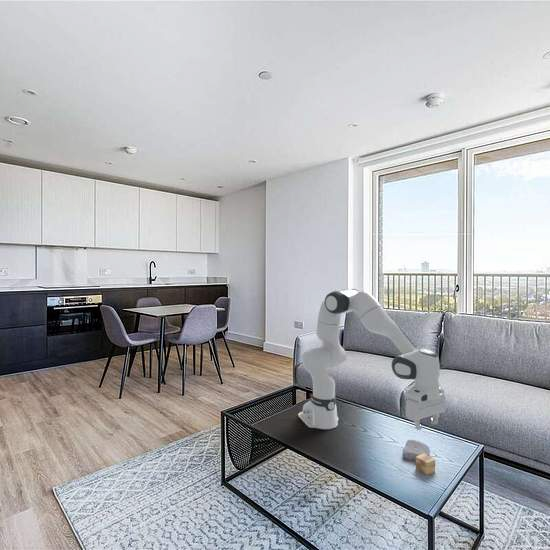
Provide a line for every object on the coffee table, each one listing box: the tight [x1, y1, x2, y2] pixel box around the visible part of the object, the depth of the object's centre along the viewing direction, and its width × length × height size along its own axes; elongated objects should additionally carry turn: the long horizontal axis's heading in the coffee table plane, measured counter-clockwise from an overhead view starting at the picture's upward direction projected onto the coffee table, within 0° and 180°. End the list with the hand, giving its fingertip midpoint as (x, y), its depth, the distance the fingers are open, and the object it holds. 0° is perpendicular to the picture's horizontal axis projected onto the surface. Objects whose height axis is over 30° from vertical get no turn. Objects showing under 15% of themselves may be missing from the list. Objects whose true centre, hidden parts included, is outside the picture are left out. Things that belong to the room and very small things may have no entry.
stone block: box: [402, 439, 431, 462], centre depth 148 cm, size 12×5×10 cm
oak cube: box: [415, 453, 436, 476], centre depth 137 cm, size 5×5×5 cm
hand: (426, 426), depth 137 cm, fingers open, 8 cm apart
